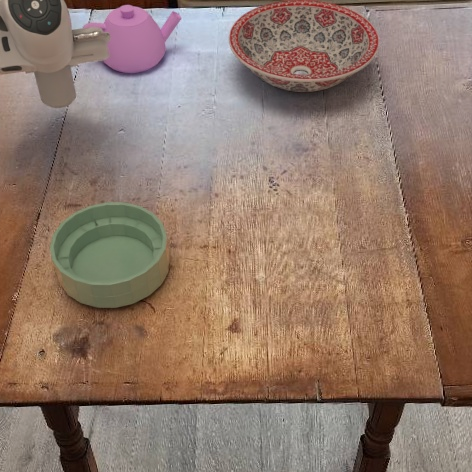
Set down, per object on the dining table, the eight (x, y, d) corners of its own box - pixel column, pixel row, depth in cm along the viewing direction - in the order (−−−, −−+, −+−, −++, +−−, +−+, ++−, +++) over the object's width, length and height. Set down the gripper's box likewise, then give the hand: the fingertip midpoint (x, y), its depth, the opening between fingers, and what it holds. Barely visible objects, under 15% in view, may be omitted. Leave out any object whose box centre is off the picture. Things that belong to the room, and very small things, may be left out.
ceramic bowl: (368, 125, 128) (375, 87, 121) (216, 109, 131) (215, 71, 124) (376, 43, 145) (383, 5, 138) (242, 30, 148) (242, -6, 142)
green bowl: (49, 310, 101) (40, 283, 96) (69, 229, 111) (61, 201, 106) (164, 312, 101) (161, 285, 96) (173, 230, 111) (170, 202, 106)
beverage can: (58, 114, 122) (44, 52, 112) (34, 101, 124) (17, 39, 114) (84, 98, 125) (71, 35, 115) (59, 86, 127) (45, 23, 117)
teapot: (192, 66, 140) (189, 15, 131) (96, 83, 136) (86, 33, 128) (174, 32, 148) (170, -18, 139) (84, 48, 144) (74, -2, 136)
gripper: (106, 11, 107) (105, 38, 121) (-27, 28, 104) (-12, 54, 117) (114, 52, 108) (113, 74, 122) (-17, 71, 105) (-4, 92, 118)
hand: (50, 65), depth 119 cm, fingers closed on beverage can, 6 cm apart
